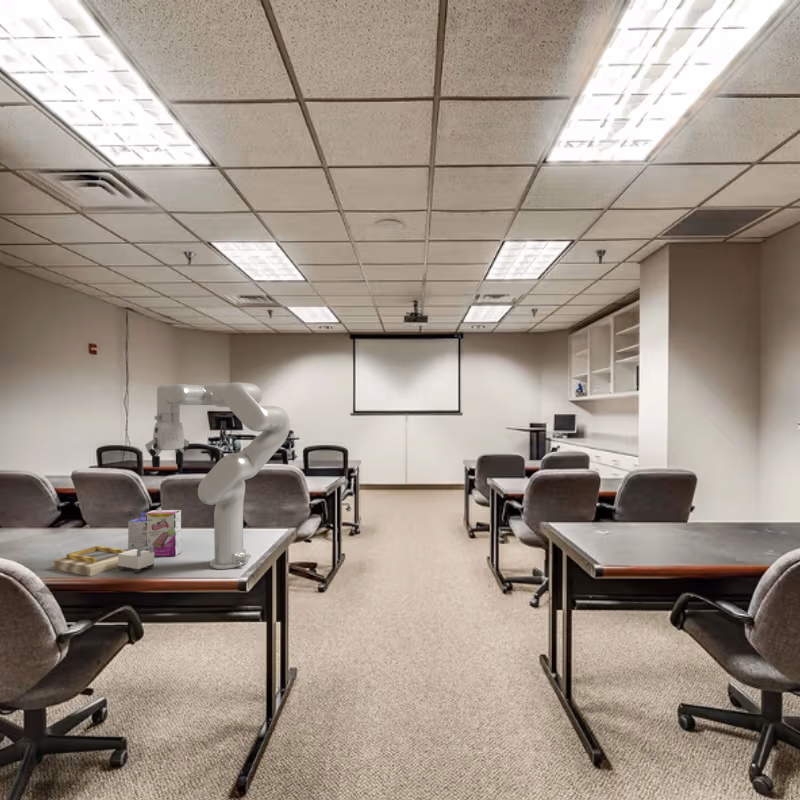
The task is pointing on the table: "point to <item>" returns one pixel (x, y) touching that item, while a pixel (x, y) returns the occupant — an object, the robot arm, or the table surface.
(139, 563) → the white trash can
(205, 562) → the table surface
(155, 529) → the candy bar box
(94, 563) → the dock
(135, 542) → the ink cartridge box
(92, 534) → the table surface
